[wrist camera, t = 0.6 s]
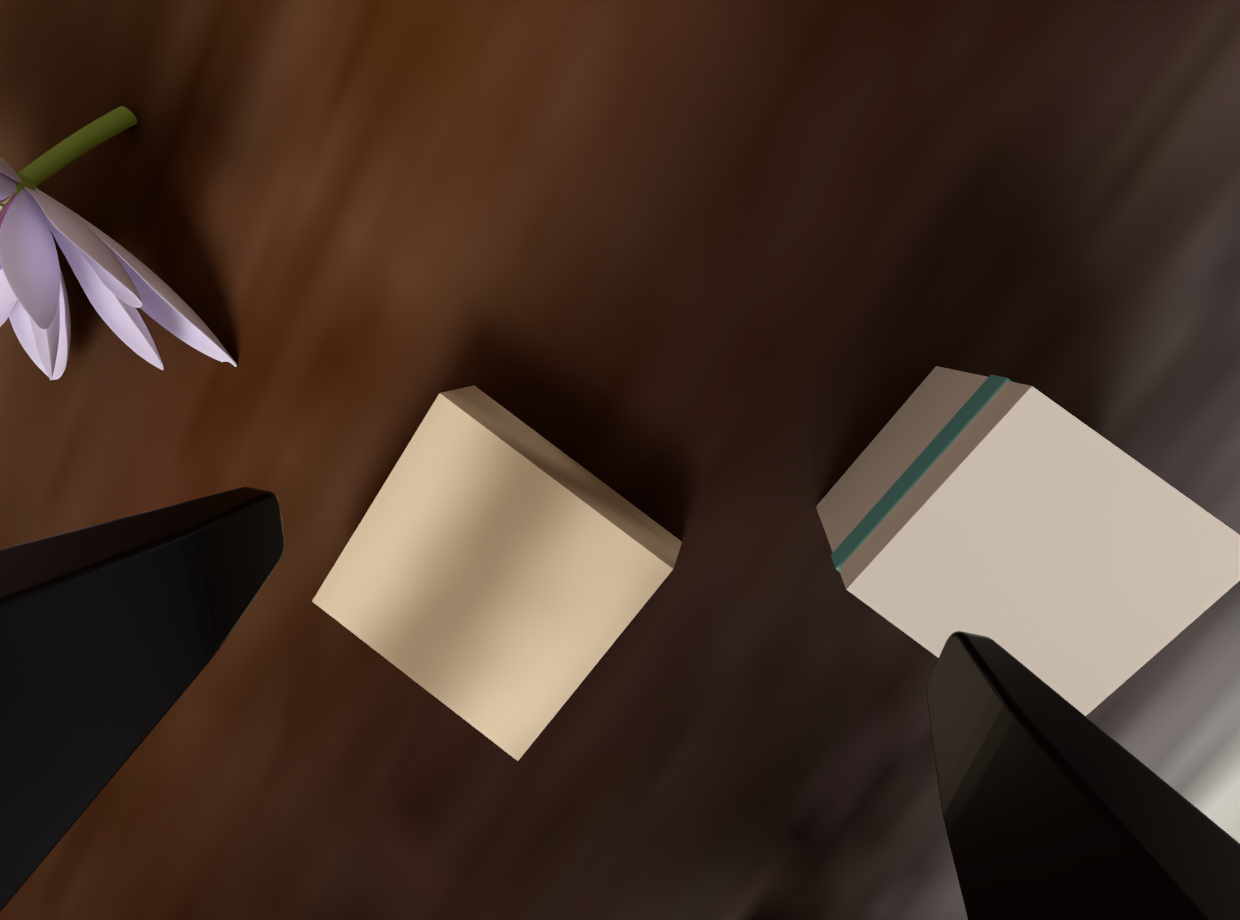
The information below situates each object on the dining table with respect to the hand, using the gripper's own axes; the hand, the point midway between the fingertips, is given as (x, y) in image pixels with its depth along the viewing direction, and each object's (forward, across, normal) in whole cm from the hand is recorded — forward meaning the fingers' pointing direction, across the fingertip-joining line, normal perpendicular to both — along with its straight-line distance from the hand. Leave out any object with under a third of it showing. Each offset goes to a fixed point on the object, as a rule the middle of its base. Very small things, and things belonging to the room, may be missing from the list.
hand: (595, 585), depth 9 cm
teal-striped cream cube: (+12, -9, +3) cm, 16 cm away
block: (+12, +5, +9) cm, 16 cm away
